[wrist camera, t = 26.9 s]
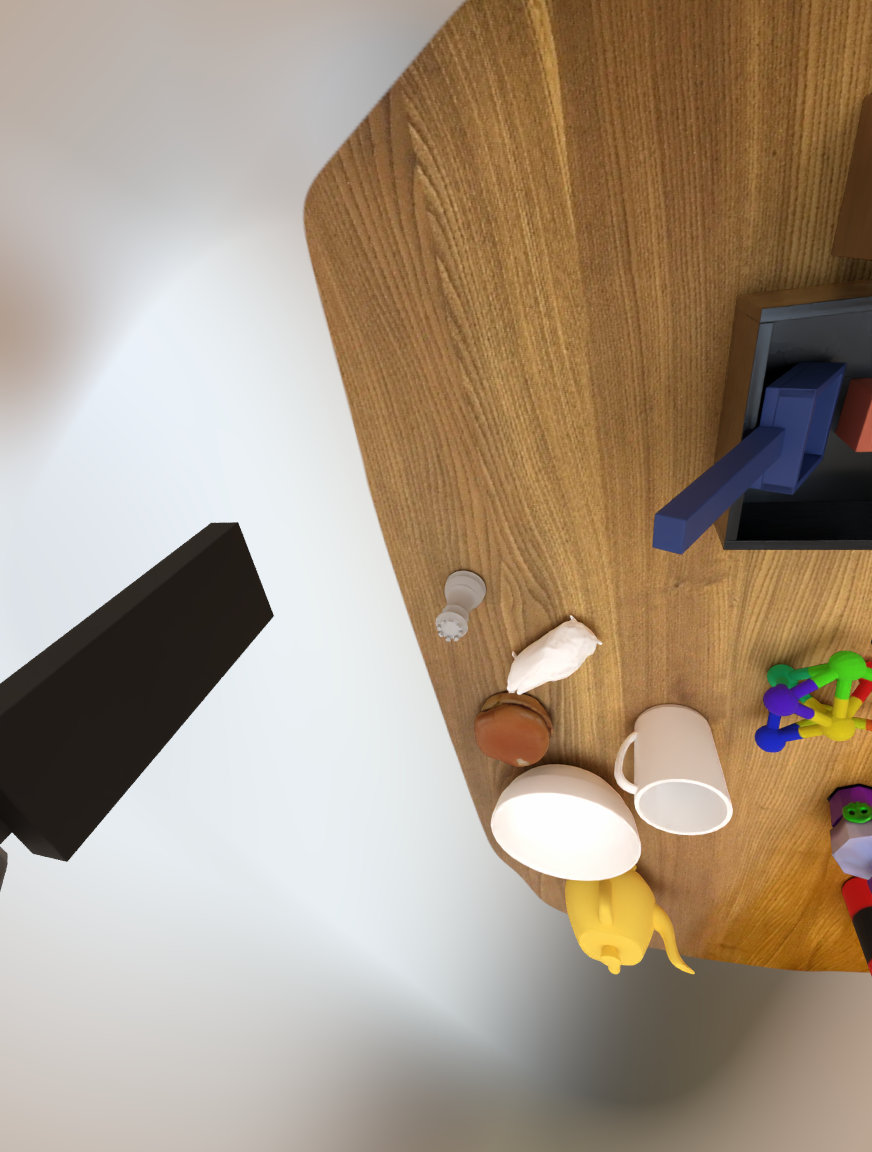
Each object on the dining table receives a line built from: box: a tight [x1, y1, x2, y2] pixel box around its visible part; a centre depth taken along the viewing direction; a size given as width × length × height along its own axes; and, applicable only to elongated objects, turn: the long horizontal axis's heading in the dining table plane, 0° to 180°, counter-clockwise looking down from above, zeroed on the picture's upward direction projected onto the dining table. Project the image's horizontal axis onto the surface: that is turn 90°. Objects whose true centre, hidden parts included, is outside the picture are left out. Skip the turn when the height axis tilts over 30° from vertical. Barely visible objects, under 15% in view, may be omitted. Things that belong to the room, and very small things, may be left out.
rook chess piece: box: [436, 571, 486, 641], centre depth 54 cm, size 4×4×8 cm
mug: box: [614, 704, 733, 835], centre depth 56 cm, size 11×9×10 cm
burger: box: [474, 692, 554, 767], centre depth 64 cm, size 10×9×5 cm
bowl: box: [491, 764, 641, 881], centre depth 68 cm, size 18×18×7 cm
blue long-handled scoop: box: [652, 362, 847, 554], centre depth 32 cm, size 7×22×3 cm
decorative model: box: [755, 651, 872, 752], centre depth 49 cm, size 13×9×15 cm
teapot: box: [565, 865, 695, 974], centre depth 75 cm, size 14×14×12 cm
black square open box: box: [714, 279, 872, 550], centre depth 36 cm, size 17×17×7 cm
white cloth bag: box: [507, 615, 602, 695], centre depth 56 cm, size 5×7×10 cm
